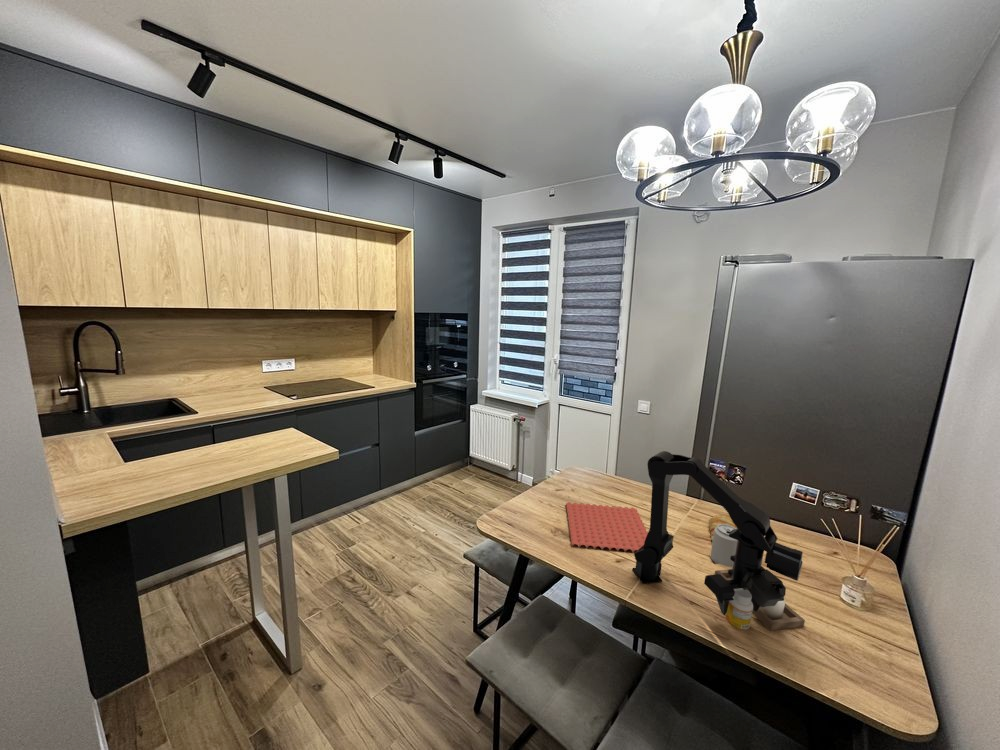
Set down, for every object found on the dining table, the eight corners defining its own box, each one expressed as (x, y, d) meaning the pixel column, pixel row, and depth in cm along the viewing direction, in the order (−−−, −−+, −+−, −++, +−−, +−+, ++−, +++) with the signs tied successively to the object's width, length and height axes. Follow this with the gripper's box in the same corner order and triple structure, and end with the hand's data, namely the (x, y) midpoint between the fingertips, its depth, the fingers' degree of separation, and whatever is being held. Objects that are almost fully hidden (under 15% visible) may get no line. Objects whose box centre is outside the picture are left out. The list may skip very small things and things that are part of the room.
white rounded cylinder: (771, 621, 100) (774, 605, 99) (756, 607, 105) (758, 591, 104) (786, 619, 101) (790, 603, 100) (771, 605, 105) (774, 589, 104)
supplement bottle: (727, 612, 104) (732, 581, 102) (750, 623, 101) (756, 591, 99) (723, 625, 100) (728, 592, 98) (747, 637, 96) (753, 603, 95)
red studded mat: (635, 512, 155) (636, 507, 154) (656, 557, 127) (657, 551, 127) (565, 506, 157) (566, 501, 157) (571, 549, 130) (571, 543, 129)
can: (723, 571, 120) (728, 537, 118) (704, 556, 128) (709, 523, 125) (741, 567, 122) (747, 533, 120) (722, 553, 130) (727, 520, 127)
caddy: (769, 634, 97) (771, 624, 97) (713, 579, 117) (715, 570, 116) (802, 630, 99) (805, 620, 98) (742, 576, 118) (743, 567, 118)
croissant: (720, 557, 133) (736, 544, 129) (695, 534, 138) (709, 520, 134) (738, 532, 147) (752, 520, 143) (714, 512, 153) (727, 499, 149)
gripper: (740, 585, 87) (730, 643, 90) (809, 577, 90) (797, 634, 93) (707, 553, 98) (698, 606, 101) (769, 548, 101) (759, 599, 104)
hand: (738, 612), depth 100 cm, fingers open, 9 cm apart
